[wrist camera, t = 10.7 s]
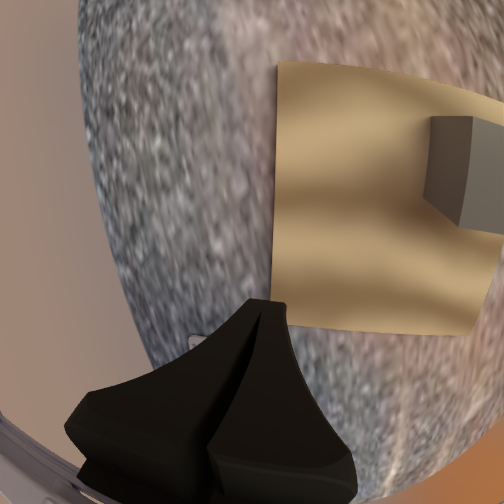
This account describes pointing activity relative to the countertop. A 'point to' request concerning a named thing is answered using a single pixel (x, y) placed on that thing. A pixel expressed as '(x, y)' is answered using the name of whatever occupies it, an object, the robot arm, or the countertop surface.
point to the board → (371, 205)
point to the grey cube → (467, 172)
